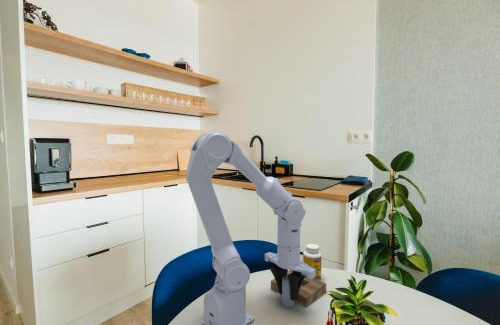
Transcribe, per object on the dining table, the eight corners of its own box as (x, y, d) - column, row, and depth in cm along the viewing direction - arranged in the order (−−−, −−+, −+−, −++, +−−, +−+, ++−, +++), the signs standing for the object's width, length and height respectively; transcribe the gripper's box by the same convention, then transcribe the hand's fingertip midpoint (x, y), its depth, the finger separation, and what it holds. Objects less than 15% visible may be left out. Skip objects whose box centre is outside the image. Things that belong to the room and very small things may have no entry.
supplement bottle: (314, 284, 76) (315, 251, 76) (299, 277, 80) (299, 245, 80) (324, 278, 80) (325, 246, 79) (309, 272, 84) (309, 241, 83)
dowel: (289, 310, 64) (289, 283, 64) (279, 304, 66) (279, 278, 66) (296, 304, 66) (297, 278, 66) (286, 299, 69) (287, 274, 68)
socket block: (306, 307, 65) (306, 297, 65) (270, 289, 74) (270, 280, 74) (326, 291, 72) (326, 283, 72) (291, 276, 81) (291, 269, 81)
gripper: (322, 247, 63) (321, 300, 64) (276, 233, 73) (276, 279, 74) (306, 256, 58) (305, 313, 59) (259, 240, 68) (259, 289, 69)
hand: (288, 295), depth 66 cm, fingers closed on dowel, 3 cm apart
